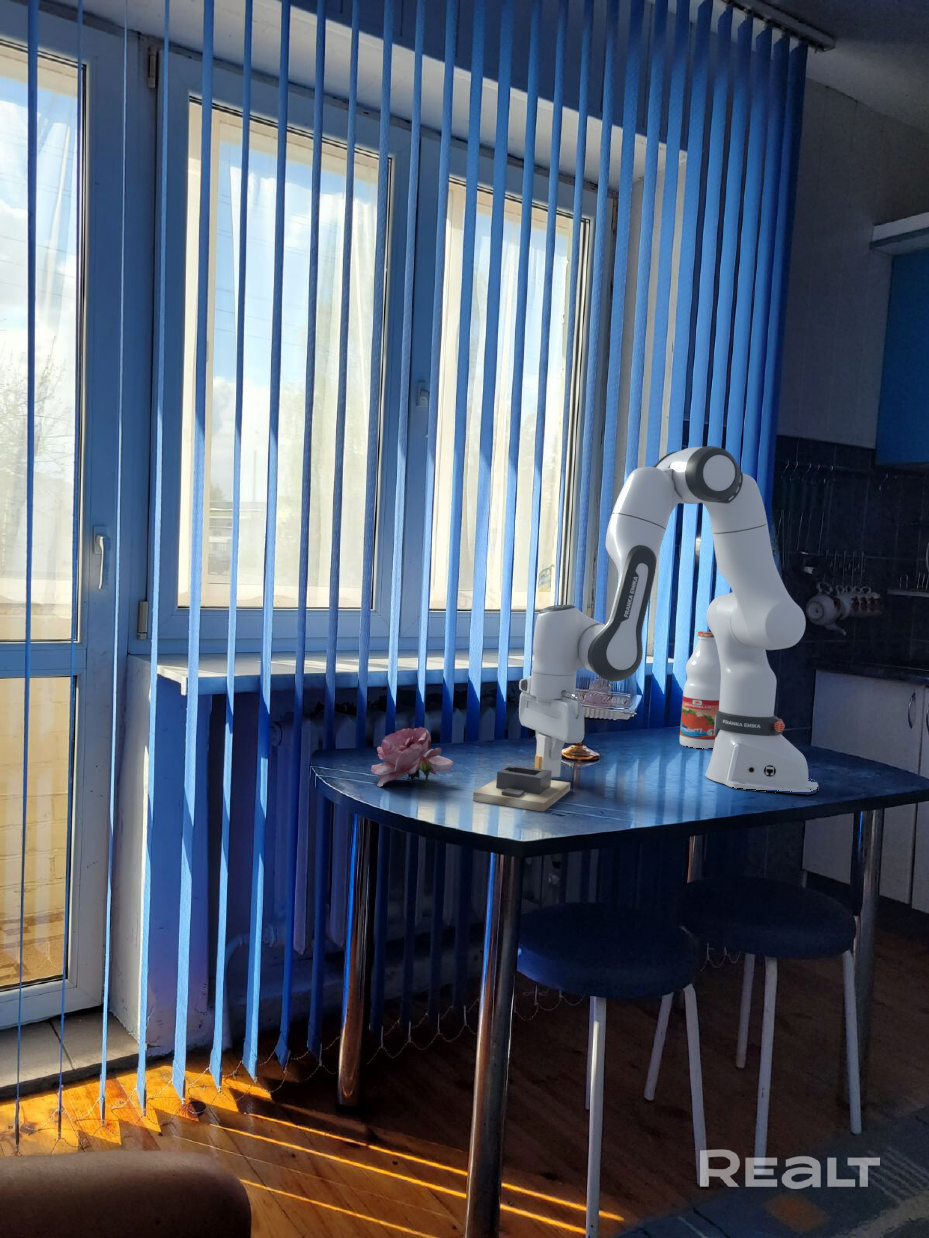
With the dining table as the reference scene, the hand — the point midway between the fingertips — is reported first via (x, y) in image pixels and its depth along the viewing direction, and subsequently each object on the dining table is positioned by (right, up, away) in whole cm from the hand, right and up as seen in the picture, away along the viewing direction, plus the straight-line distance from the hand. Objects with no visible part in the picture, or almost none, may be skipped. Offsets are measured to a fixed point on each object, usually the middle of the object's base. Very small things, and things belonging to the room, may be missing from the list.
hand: (548, 756), depth 198 cm
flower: (-27, -4, -10) cm, 29 cm away
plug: (0, -4, 0) cm, 4 cm away
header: (-6, -4, -14) cm, 16 cm away
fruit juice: (+41, -4, +48) cm, 63 cm away
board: (-6, -5, -14) cm, 16 cm away
